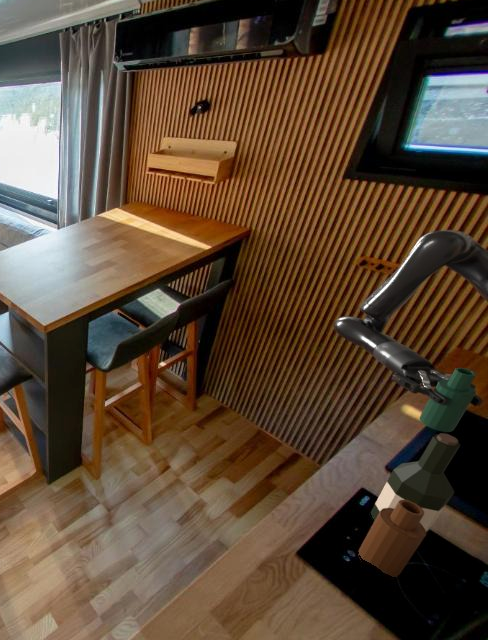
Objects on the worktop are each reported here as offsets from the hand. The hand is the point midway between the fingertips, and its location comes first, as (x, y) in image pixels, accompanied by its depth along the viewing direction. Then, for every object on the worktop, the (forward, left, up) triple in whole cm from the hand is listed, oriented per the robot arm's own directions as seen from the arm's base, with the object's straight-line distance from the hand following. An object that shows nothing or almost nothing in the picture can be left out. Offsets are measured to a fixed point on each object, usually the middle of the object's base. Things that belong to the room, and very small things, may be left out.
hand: (462, 403), depth 89 cm
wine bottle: (+18, +24, -20) cm, 36 cm away
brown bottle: (+26, +34, -20) cm, 47 cm away
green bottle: (0, -2, -10) cm, 10 cm away
